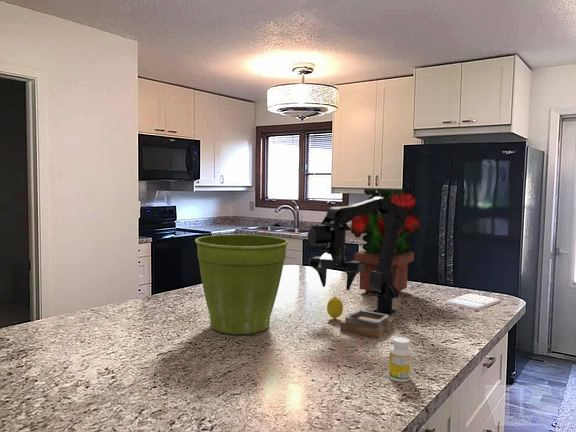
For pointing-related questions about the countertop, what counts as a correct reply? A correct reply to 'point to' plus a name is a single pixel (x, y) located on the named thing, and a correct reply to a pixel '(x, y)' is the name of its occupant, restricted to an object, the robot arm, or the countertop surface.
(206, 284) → the plant pot
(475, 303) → the calculator
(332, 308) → the lemon
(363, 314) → the display plinth
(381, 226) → the potted plant
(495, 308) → the countertop surface
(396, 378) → the supplement bottle
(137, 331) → the countertop surface
